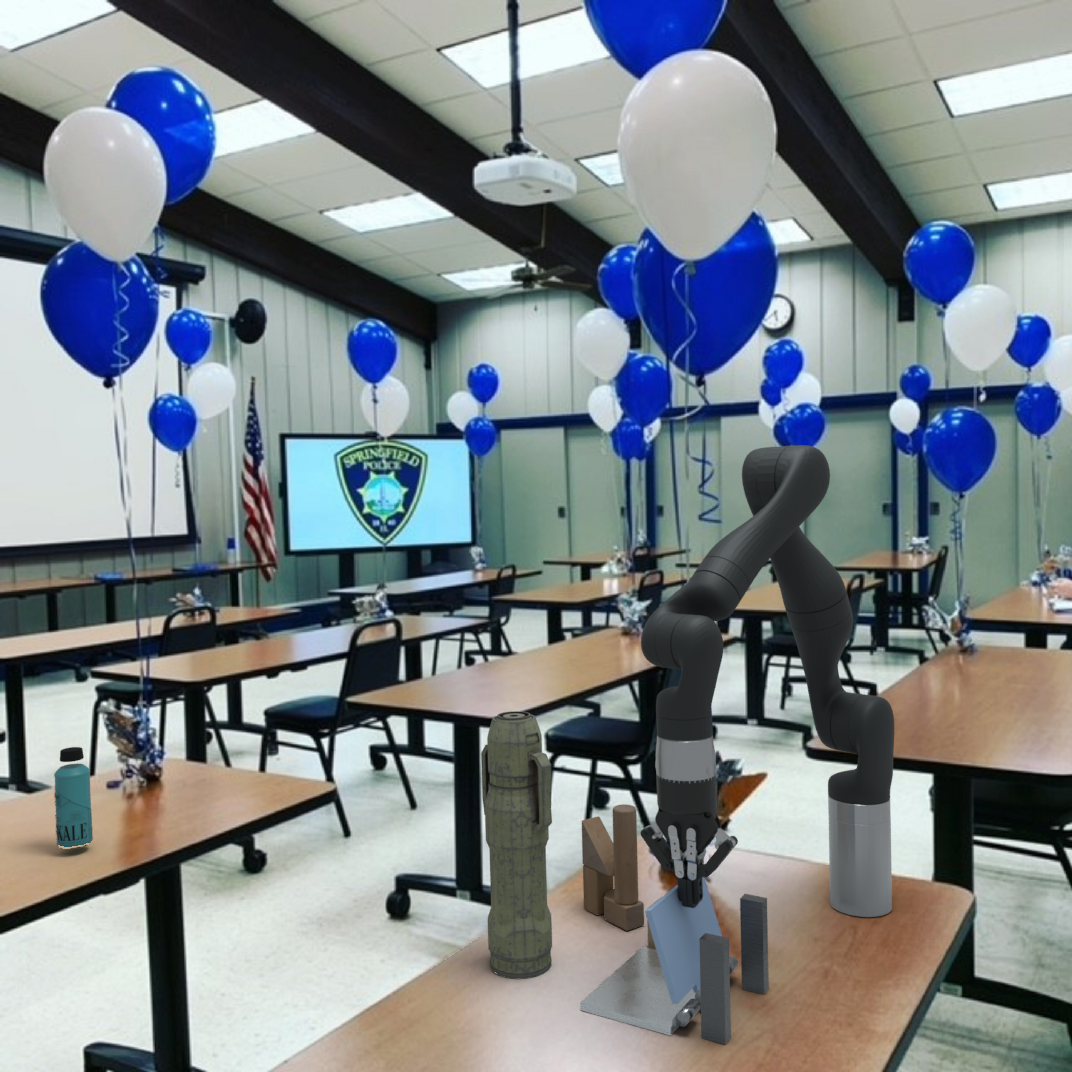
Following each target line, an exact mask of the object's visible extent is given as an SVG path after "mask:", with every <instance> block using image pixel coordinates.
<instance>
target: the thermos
mask: <svg viewBox="0 0 1072 1072" xmlns="http://www.w3.org/2000/svg"><path fill="white" fill-rule="evenodd" d="M486 737H487V739H486V742H487V743H486V744H484V747H483V749H482V750H481V753H480V756H481V757H480V759H481V760H480V761H481V788H482V789H481V791H482V792H481V793H482V794H481V795H482V798H481V799H482V805H483V812H484V813H483V815H484V822H485V829H484V830H485V842H486V844H487V847H488V848H489V876H490V878H489V880H490V883H489V884H490V885H489V886H490V909H489V913H488V916H487V943H488V945H487V946H488V949H487V950H489V954H490V958H489V959H490V960H489V968H490V967H491V968H490V970H491V969H492V970H493V971H494V972H496V973H497V974H498V976H500V975H502V976H501V977H503V976H505V977H504V978H506V977H509V978H508V979H513V978H525V979H530V978H535V977H539V976H541V975H544V974H545V973H546V972H548V971H549V970H550V968H551V967H552V952H551V950H552V949H553V936H552V935H553V931H552V930H553V928H552V926H553V925H552V920H553V919H552V913H551V911H550V909H549V906H548V886H547V883H548V882H547V854H546V853H547V852H546V851H547V850H546V847H547V844H548V841H549V839H550V837H549V835H550V830H549V827H550V826H551V825H552V824H553V818H552V816H553V814H552V763H551V761H550V759H549V757H548V755H547V753H545V752H543V739H542V730H541V728H540V725H539V723H538V720H537V717H536V715H534V714H531V713H530V712H526V711H519V710H513V711H511V710H510V711H504V712H501V713H498V714H497V715H495V716H494V717H492V718H491V723H490V726H489V730H488V734H487V736H486ZM492 970H491V971H492ZM493 971H492V972H493ZM494 972H493V973H494ZM496 973H495V974H496ZM497 974H496V975H497Z"/></svg>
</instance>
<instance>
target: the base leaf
mask: <svg viewBox="0 0 1072 1072" xmlns="http://www.w3.org/2000/svg"><path fill="white" fill-rule="evenodd" d="M739 907H740V908H739V912H740V913H739V915H740V918H739V919H740V955H741V956H740V957H741V958H740V961H741V968H740V969H741V990H744V991H748V992H752V993H756V994H760V995H765V994H766V993H767V992H768V990H769V989H770V987H769V984H770V983H769V981H770V980H769V979H770V977H769V932H768V929H769V928H768V897H765V896H759V895H753V894H749V893H748V894H747V893H744V894H743V895H742V896H741V897H740V898H739ZM699 943H700V988H701V1004H700V1003H699V1001H698V1000H696V999H695V994H696V993H694V990H693V988H692V989H691V990H690V991H689V993H688V994H687V995H686V996H685V997H684V998H683V999H682V1000H681V1001H680V1002H679V1003H678V1004H672V1001H671V998H670V995H669V991H668V988H667V984H666V981H665V978H664V974H663V971H662V967H661V964H660V961H659V957H658V954H657V950H655V949H651V948H648V947H646V946H642V947H640V948H639V949H638V950H637V951H636V952H635V953H634V954H633V955H631V957H629V958H628V959H627V960H626V961H625V962H624V963H623V964H621V966H619V967H618V968H617V969H616V970H615V971H614V972H612V973H611V974H610V975H609V976H608V977H607V978H606V979H605V980H604V981H602V982H601V984H599V985H598V986H597V987H595V988H594V989H593V991H591V992H590V993H589V994H588V995H587V996H586V997H584V999H582V1000H581V1001H580V1002H579V1005H580V1007H579V1008H580V1009H579V1010H580V1011H582V1012H586V1013H590V1014H593V1015H597V1016H600V1017H603V1018H607V1019H611V1020H614V1021H617V1022H620V1023H624V1024H627V1025H628V1024H629V1025H631V1026H635V1027H639V1028H642V1029H646V1030H650V1031H653V1032H656V1033H661V1034H664V1035H666V1036H670V1037H671V1036H672V1035H673V1033H675V1032H676V1030H677V1029H679V1027H686V1026H687V1025H688V1024H689V1023H690V1022H691V1020H693V1018H694V1017H695V1016H696V1015H697V1014H698V1013H699V1011H700V1027H701V1028H700V1029H701V1032H700V1033H701V1038H702V1039H704V1040H708V1041H710V1042H713V1043H717V1044H718V1043H719V1044H722V1045H727V1043H728V1042H729V1041H730V1039H731V1038H732V1023H731V1022H732V1021H731V1020H732V1019H731V1017H732V1016H731V974H732V973H734V972H735V970H736V969H737V968H738V967H739V961H738V959H737V958H736V957H735V956H733V955H731V956H730V937H727V936H723V935H722V936H717V935H713V934H708V933H705V934H704V935H703V936H702V937H701V938H700V939H699Z"/></svg>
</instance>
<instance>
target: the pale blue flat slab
mask: <svg viewBox="0 0 1072 1072" xmlns="http://www.w3.org/2000/svg"><path fill="white" fill-rule="evenodd" d="M702 883H703V898H702V901H701V902H699V904H698V905H697V906H696V907H695V908H689V907H684V906H682V901H679V898H678V883H677V884H676V885H674V887H672V888H670V890H669V891H667V892H666V893H665V894H664V895H663V896H661V897H662V898H661V897H659V898H658V899H659V900H658V899H657V900H658V901H657V900H656V901H657V902H656V901H655V902H656V903H655V902H653V903H654V904H653V903H652V904H653V905H652V904H651V905H652V906H651V905H650V906H651V907H650V906H649V907H650V908H649V907H647V908H648V909H647V908H646V910H644V914H645V916H646V920H648V923H649V927H650V930H651V933H652V937H653V940H654V944H655V947H656V950H657V954H658V957H659V961H660V964H661V967H662V971H663V974H664V978H665V981H666V984H667V988H668V991H669V995H670V998H671V1001H672V1004H678V1003H679V1002H680V1001H681V1000H682V999H683V998H684V997H685V996H686V995H687V994H688V993H689V991H690V990H691V989H692V988H693V990H694V993H696V994H695V999H696V1000H698V1001H699V1003H700V1005H701V988H700V943H699V939H700V938H701V937H702V936H703V935H704V934H705V933H708V934H713V935H717V936H722V937H723V934H722V931H721V926H720V924H719V922H718V921H719V920H718V917H717V915H716V914H717V913H716V911H715V908H714V905H713V902H712V901H713V900H712V898H711V895H710V891H709V888H708V884H707V882H706V877H702Z"/></svg>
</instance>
